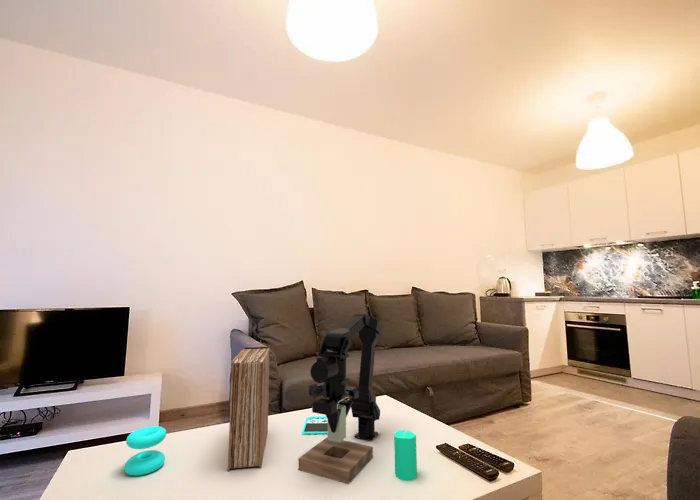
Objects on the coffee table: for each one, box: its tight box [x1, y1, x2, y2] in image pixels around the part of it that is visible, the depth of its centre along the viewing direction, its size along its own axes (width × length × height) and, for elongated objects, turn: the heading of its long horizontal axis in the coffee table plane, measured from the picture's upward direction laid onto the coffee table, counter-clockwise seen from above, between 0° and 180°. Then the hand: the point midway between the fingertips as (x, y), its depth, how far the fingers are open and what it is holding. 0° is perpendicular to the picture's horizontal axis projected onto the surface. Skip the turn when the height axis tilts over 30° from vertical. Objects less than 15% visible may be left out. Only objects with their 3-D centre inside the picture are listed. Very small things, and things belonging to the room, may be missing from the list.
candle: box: [393, 429, 418, 482], centre depth 93 cm, size 6×6×12 cm
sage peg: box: [327, 404, 347, 443], centre depth 100 cm, size 4×4×9 cm
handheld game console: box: [301, 415, 328, 436], centre depth 126 cm, size 10×16×1 cm, turn 1°
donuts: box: [123, 425, 167, 476], centre depth 97 cm, size 10×10×10 cm
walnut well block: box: [298, 436, 374, 485], centre depth 99 cm, size 16×16×3 cm
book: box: [227, 346, 270, 472], centre depth 109 cm, size 25×9×30 cm, turn 9°
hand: (337, 429), depth 100 cm, fingers closed on sage peg, 4 cm apart
